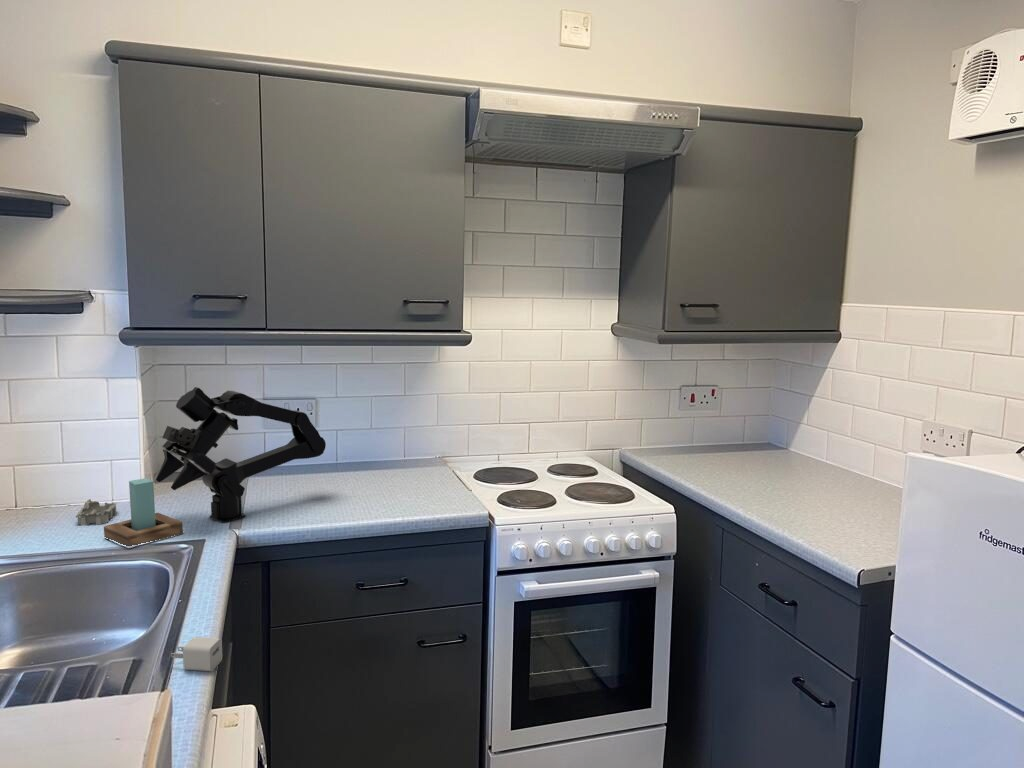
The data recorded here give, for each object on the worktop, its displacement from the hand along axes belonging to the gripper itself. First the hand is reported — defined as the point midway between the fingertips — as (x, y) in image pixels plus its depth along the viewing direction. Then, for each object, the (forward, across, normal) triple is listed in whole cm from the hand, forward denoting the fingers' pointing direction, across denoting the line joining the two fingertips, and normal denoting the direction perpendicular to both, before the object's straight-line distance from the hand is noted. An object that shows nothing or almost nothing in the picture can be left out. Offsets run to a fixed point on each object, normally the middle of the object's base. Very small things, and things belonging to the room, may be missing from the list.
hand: (164, 485), depth 175 cm
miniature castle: (+15, -21, +2) cm, 26 cm away
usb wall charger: (+23, +66, -6) cm, 70 cm away
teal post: (+12, 0, +4) cm, 12 cm away
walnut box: (+12, 0, +4) cm, 13 cm away
